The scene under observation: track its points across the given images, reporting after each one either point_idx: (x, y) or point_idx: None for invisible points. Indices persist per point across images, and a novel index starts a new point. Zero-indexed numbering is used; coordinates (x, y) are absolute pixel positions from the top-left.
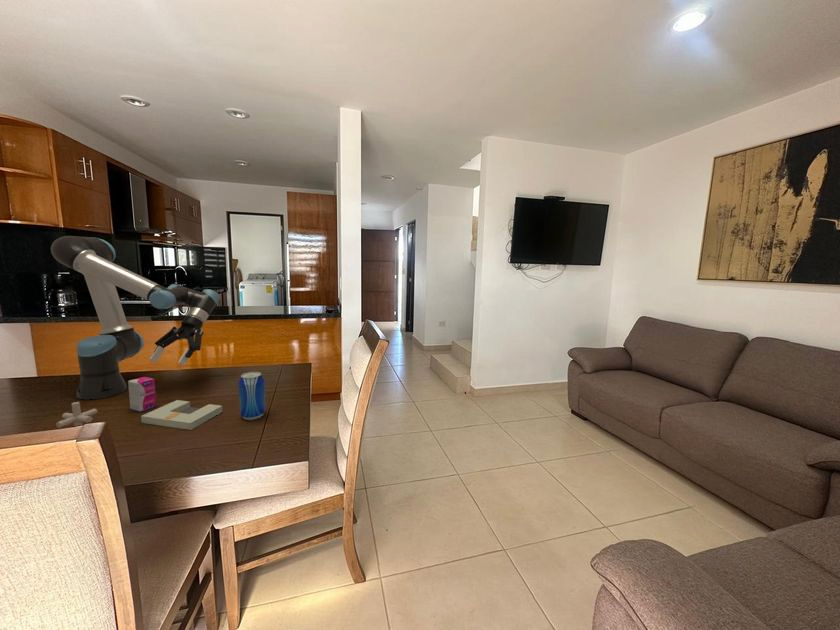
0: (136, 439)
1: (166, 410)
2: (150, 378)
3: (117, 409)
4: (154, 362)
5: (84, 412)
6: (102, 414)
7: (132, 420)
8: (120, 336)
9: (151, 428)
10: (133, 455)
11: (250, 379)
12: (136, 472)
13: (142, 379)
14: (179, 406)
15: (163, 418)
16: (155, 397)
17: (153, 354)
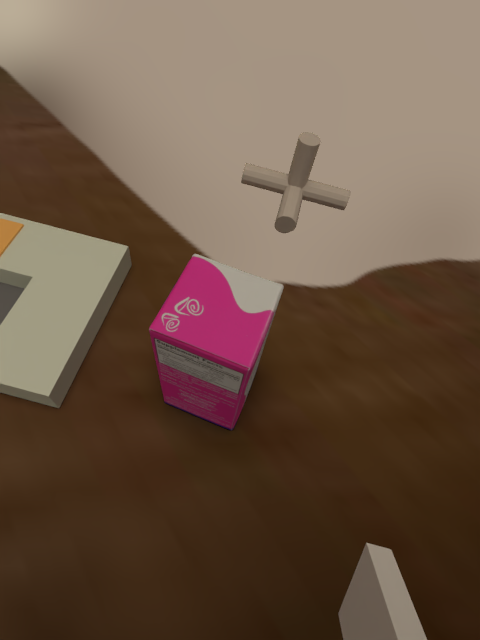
0: (83, 180)
1: (48, 284)
2: (180, 333)
3: (316, 375)
4: (348, 605)
5: (293, 194)
6: (331, 332)
7: None
8: None
9: (73, 229)
10: (47, 125)
11: None
12: (6, 81)
13: (218, 311)
14: (3, 320)
15: (28, 224)
16: (161, 383)
17: (410, 631)
